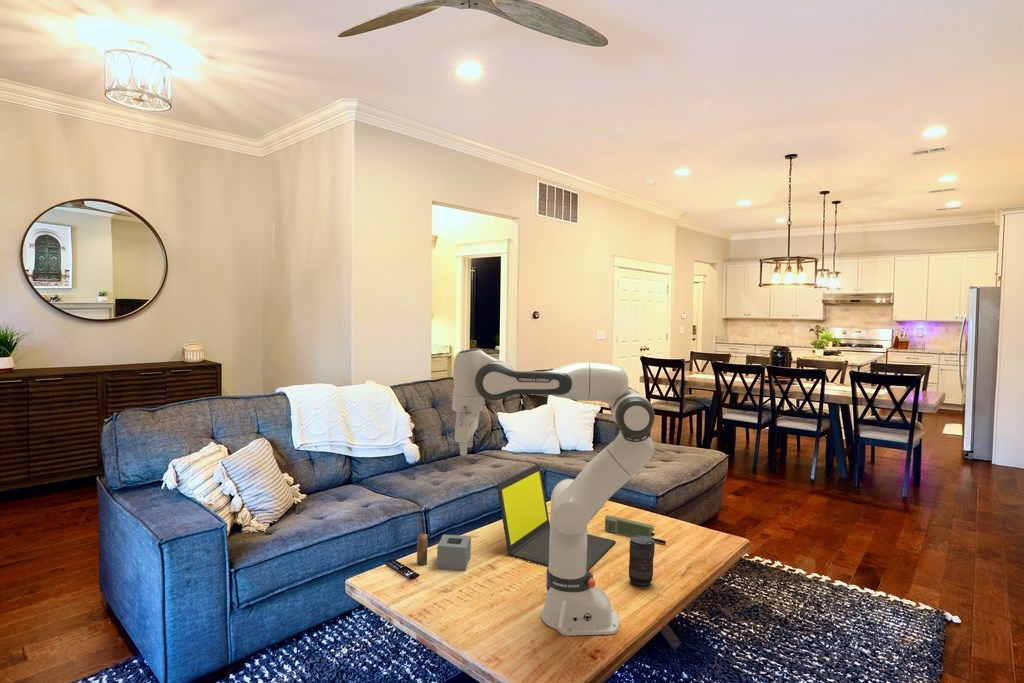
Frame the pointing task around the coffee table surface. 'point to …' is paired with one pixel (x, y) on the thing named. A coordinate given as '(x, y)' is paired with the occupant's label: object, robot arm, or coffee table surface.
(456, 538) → the socket block
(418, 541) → the walnut peg
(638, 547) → the camera lens
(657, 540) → the handheld radio
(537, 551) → the laptop
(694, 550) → the coffee table surface
